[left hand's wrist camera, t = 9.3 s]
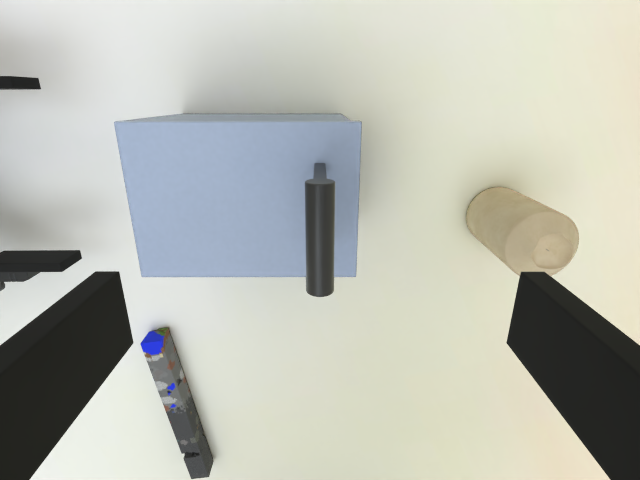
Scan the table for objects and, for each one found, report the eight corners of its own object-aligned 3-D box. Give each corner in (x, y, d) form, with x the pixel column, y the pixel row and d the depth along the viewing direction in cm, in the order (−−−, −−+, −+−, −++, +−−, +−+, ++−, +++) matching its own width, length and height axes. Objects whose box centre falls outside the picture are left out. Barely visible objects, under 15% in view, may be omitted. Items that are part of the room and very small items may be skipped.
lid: (360, 120, 24) (378, 131, 16) (354, 271, 27) (368, 336, 20) (120, 120, 24) (31, 131, 16) (147, 271, 27) (83, 336, 20)
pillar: (191, 478, 46) (139, 340, 40) (196, 462, 48) (148, 329, 42) (208, 477, 46) (159, 338, 39) (213, 460, 48) (167, 326, 41)
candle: (460, 239, 38) (506, 285, 29) (471, 184, 36) (524, 215, 27) (515, 242, 38) (579, 289, 29) (529, 187, 36) (602, 219, 27)
